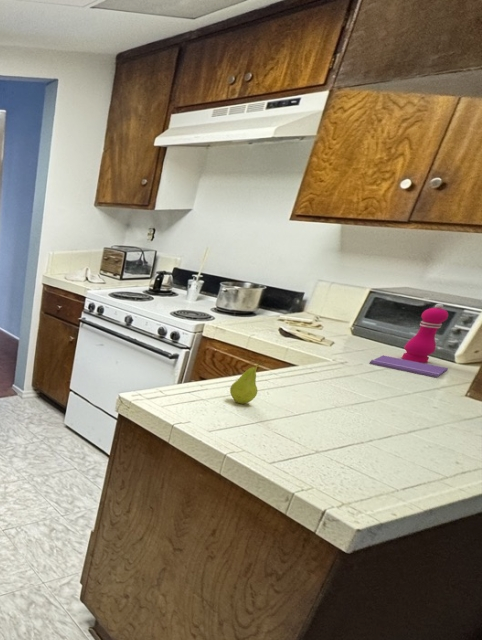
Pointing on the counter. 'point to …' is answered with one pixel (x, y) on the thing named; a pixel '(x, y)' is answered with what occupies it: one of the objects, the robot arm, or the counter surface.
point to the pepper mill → (425, 335)
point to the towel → (409, 366)
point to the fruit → (245, 386)
